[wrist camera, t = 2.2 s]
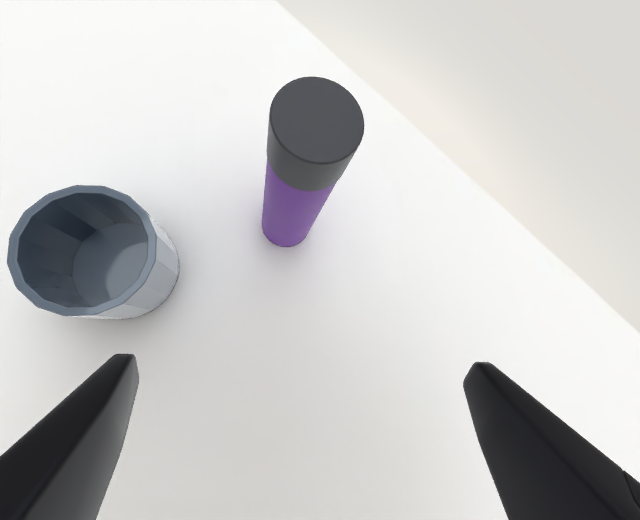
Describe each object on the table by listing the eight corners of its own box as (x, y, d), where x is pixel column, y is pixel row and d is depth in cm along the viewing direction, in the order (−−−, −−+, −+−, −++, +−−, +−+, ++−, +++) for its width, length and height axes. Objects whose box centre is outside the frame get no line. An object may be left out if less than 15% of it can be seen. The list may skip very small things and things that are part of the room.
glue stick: (286, 257, 24) (322, 183, 12) (250, 224, 24) (248, 114, 12) (319, 224, 24) (383, 122, 12) (284, 192, 24) (315, 58, 12)
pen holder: (122, 341, 21) (77, 345, 16) (45, 269, 21) (-26, 249, 16) (200, 266, 22) (184, 247, 17) (129, 200, 22) (91, 160, 17)
